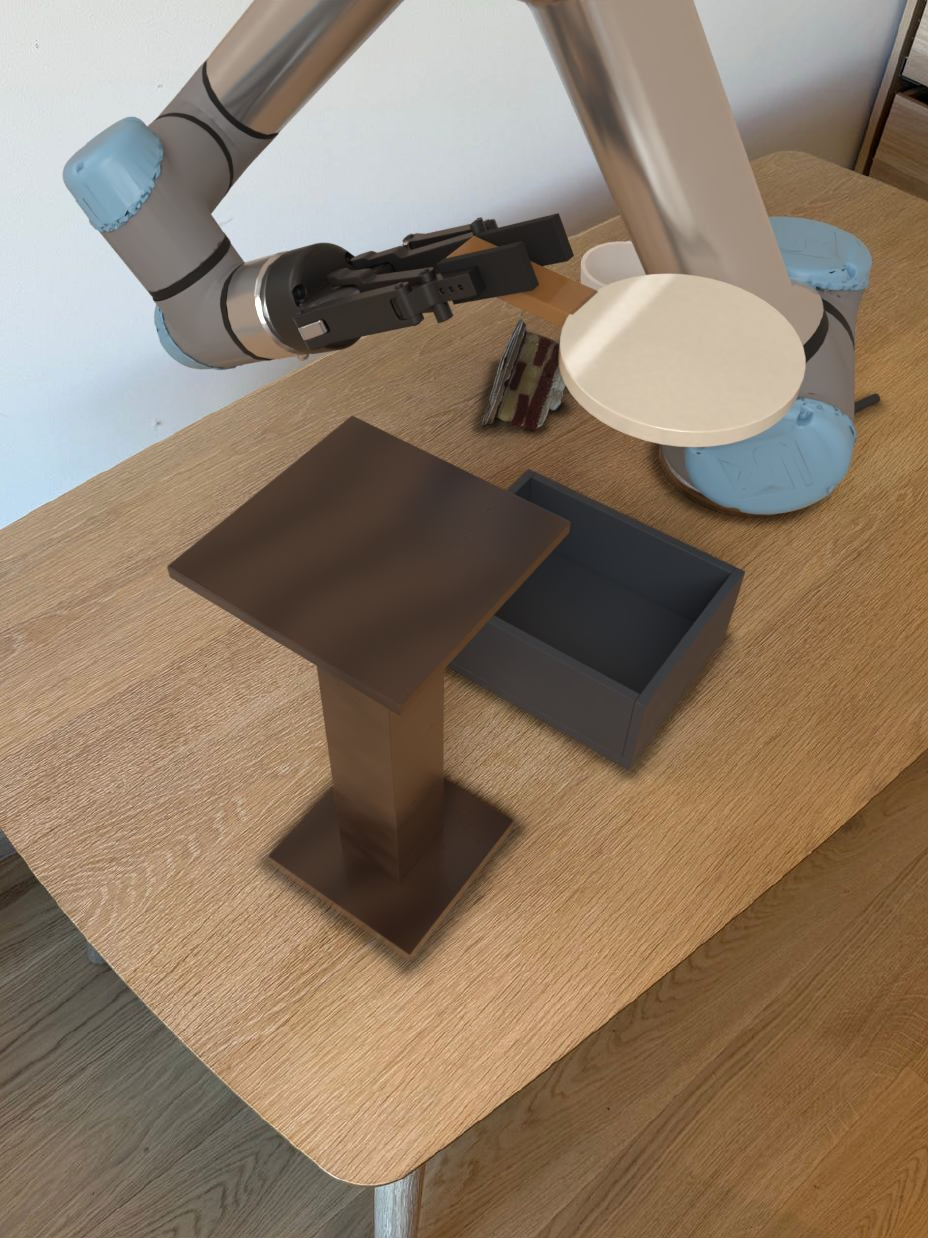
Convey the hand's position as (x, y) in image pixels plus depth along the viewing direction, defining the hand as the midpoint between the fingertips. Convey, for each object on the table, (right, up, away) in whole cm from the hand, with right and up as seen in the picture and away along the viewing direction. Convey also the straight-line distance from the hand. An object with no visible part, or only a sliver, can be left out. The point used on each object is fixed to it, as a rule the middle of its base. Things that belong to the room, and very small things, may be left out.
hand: (545, 251), depth 65 cm
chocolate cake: (+2, 0, +44) cm, 44 cm away
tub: (+4, -24, +23) cm, 34 cm away
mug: (+11, +6, +49) cm, 51 cm away
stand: (-10, -38, +11) cm, 40 cm away
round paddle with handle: (+4, -5, +1) cm, 6 cm away
